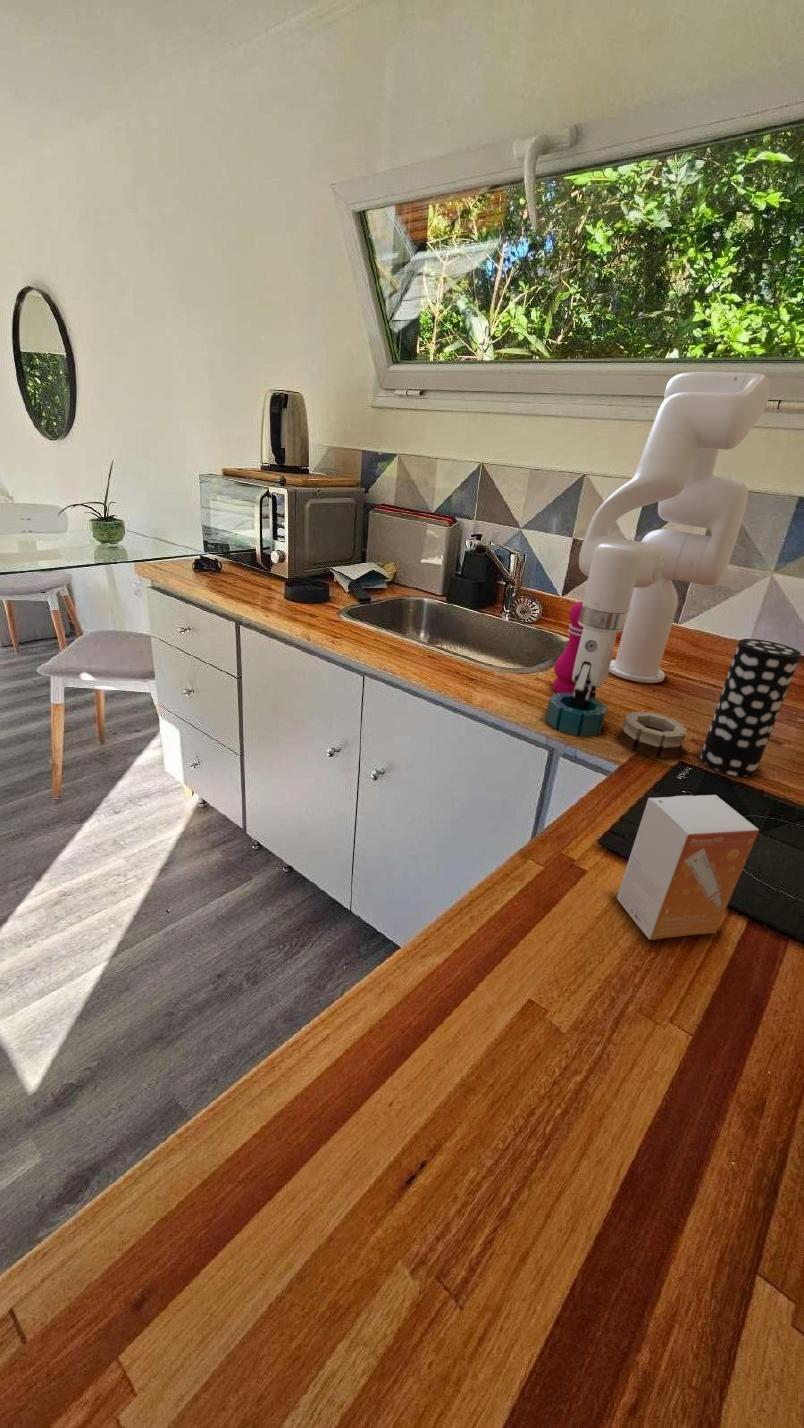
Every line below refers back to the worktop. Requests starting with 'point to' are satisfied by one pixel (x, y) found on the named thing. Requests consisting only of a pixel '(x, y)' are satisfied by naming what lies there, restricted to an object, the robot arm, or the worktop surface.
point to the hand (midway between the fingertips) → (579, 713)
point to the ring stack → (653, 734)
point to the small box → (685, 865)
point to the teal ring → (575, 715)
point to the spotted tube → (749, 706)
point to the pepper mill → (569, 654)
